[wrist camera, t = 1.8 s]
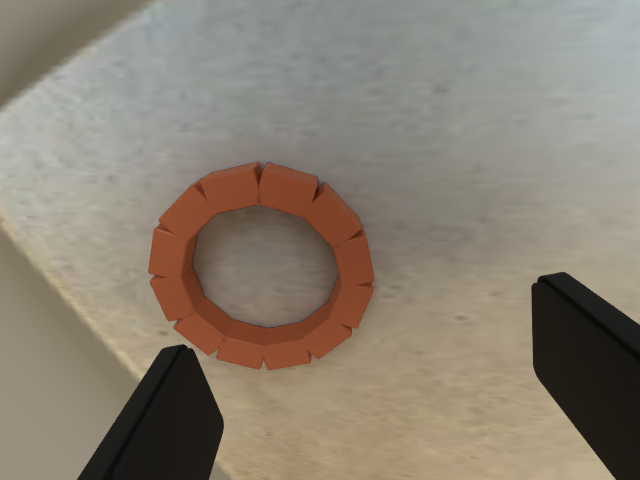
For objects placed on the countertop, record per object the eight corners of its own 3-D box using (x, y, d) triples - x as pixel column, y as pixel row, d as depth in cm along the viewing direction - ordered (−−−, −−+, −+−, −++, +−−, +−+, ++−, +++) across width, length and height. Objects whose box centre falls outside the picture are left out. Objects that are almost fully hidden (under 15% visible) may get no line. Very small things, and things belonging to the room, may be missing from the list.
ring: (128, 191, 14) (110, 201, 13) (346, 141, 13) (348, 146, 12) (204, 363, 17) (195, 383, 16) (383, 330, 16) (388, 349, 15)
